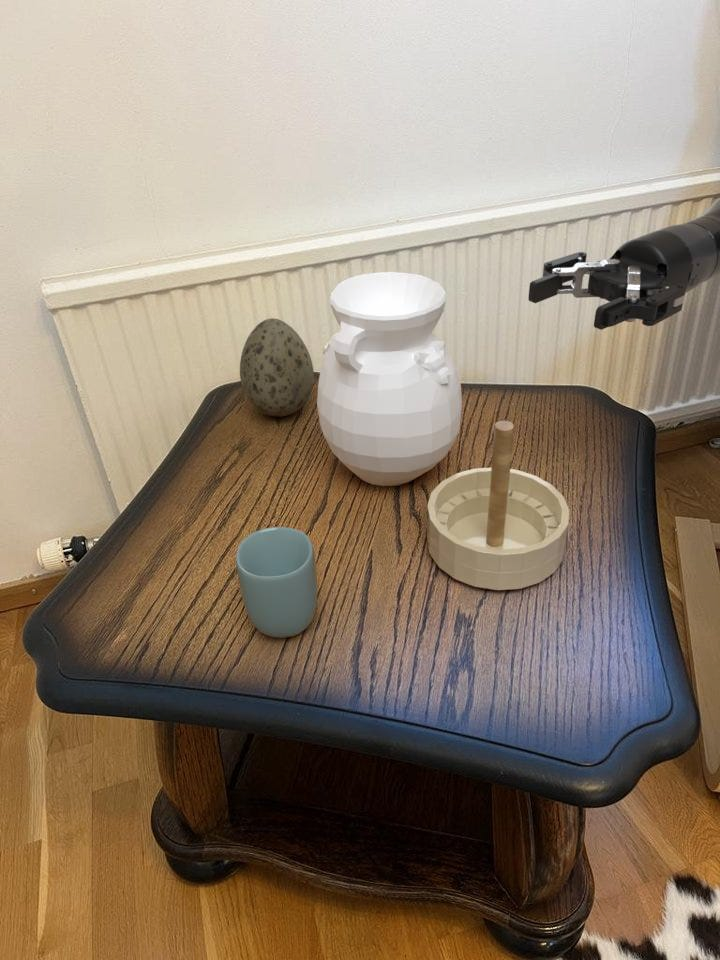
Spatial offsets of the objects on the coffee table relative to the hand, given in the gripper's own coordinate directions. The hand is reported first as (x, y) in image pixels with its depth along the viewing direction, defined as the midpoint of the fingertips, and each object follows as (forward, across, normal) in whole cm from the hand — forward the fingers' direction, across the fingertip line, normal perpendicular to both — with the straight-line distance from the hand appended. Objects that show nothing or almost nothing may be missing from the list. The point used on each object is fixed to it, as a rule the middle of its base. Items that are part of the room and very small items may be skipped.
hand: (563, 305), depth 75 cm
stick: (+7, 0, +27) cm, 28 cm away
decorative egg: (+10, -43, +28) cm, 52 cm away
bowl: (+7, 0, +28) cm, 29 cm away
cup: (+33, -6, +28) cm, 43 cm away
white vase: (+6, -21, +28) cm, 35 cm away
